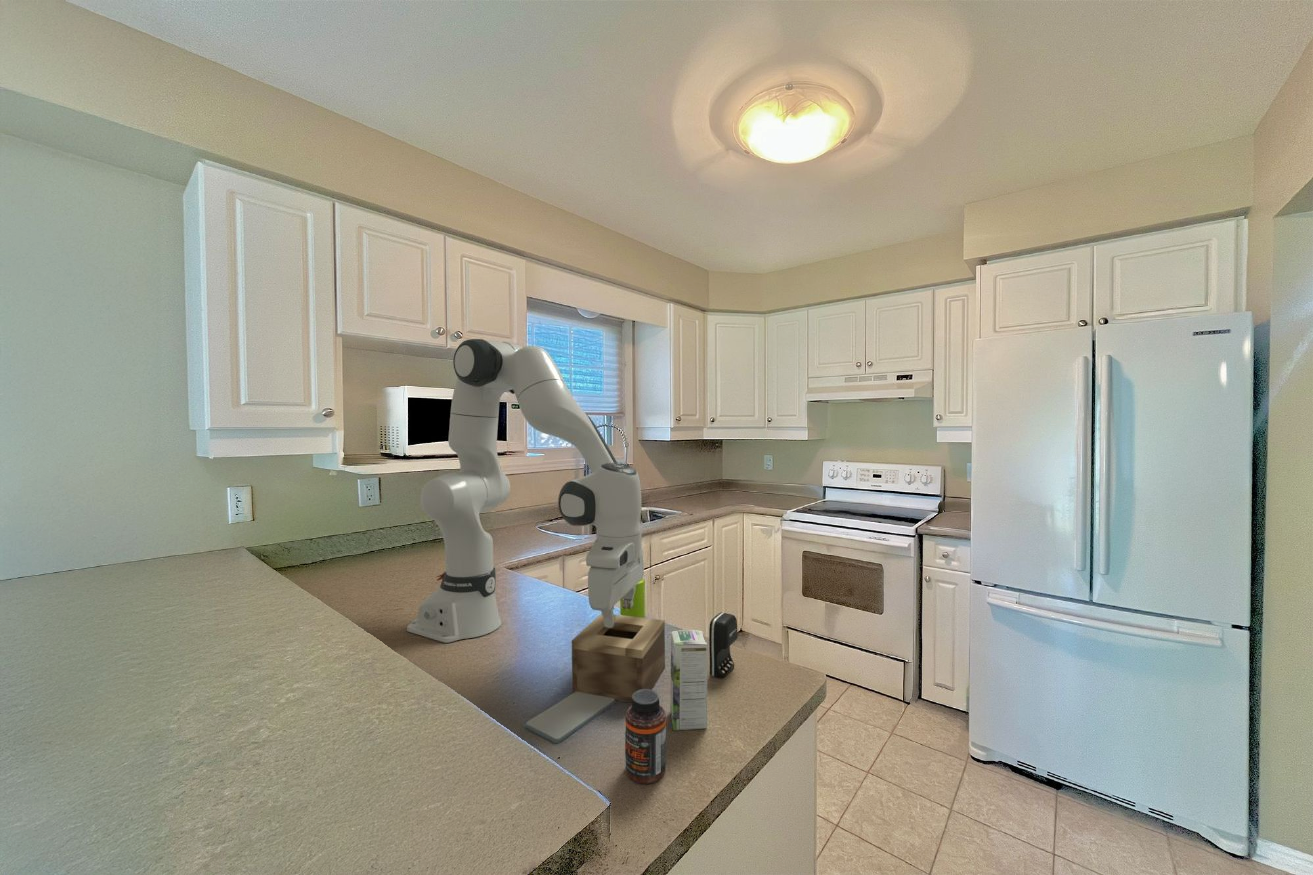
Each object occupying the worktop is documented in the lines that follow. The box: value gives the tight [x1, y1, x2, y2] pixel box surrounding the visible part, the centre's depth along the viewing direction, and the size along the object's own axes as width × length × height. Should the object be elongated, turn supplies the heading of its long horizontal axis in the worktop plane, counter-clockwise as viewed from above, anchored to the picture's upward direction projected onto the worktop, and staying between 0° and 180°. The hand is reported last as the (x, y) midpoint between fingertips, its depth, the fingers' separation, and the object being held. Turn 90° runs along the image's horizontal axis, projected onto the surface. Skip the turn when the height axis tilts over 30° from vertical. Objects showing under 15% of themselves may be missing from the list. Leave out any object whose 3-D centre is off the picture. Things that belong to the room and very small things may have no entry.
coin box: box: [571, 612, 666, 704], centre depth 99 cm, size 14×14×10 cm
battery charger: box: [708, 612, 739, 679], centre depth 102 cm, size 7×4×11 cm, turn 149°
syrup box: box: [669, 629, 709, 731], centre depth 86 cm, size 6×6×14 cm
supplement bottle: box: [624, 689, 667, 785], centre depth 73 cm, size 6×6×11 cm
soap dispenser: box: [619, 578, 646, 618], centre depth 121 cm, size 6×7×20 cm
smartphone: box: [524, 692, 617, 744], centre depth 88 cm, size 8×1×15 cm
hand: (619, 616), depth 99 cm, fingers open, 8 cm apart
